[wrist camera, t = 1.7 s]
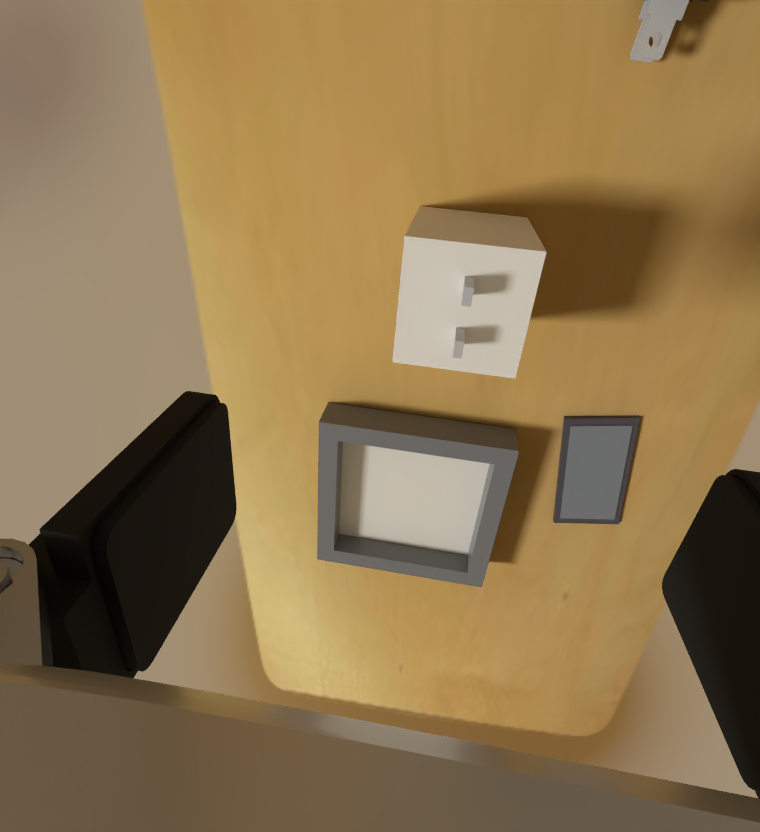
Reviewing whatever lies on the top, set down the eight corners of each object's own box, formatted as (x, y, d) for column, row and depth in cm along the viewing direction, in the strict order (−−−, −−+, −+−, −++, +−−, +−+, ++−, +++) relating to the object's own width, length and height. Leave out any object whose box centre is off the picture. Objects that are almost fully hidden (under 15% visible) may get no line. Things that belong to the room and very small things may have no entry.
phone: (562, 410, 26) (565, 419, 25) (635, 409, 25) (640, 418, 24) (551, 512, 29) (554, 523, 28) (615, 514, 29) (619, 525, 28)
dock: (328, 402, 27) (318, 422, 25) (515, 429, 26) (519, 451, 24) (325, 535, 32) (317, 559, 30) (480, 561, 31) (481, 587, 29)
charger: (419, 206, 21) (400, 244, 15) (527, 217, 21) (552, 261, 15) (408, 309, 23) (387, 378, 17) (504, 321, 23) (517, 396, 17)
